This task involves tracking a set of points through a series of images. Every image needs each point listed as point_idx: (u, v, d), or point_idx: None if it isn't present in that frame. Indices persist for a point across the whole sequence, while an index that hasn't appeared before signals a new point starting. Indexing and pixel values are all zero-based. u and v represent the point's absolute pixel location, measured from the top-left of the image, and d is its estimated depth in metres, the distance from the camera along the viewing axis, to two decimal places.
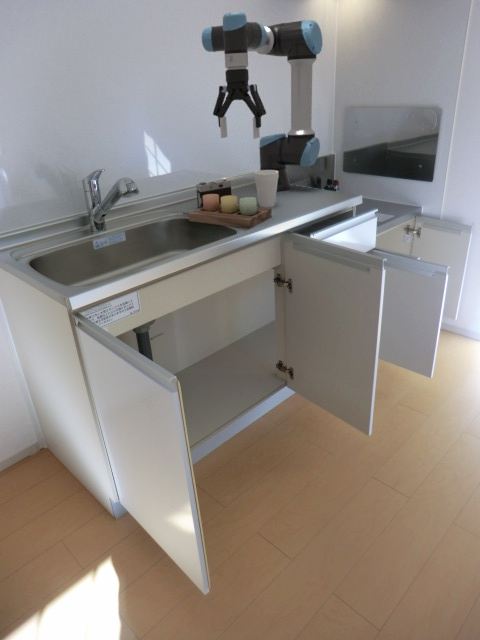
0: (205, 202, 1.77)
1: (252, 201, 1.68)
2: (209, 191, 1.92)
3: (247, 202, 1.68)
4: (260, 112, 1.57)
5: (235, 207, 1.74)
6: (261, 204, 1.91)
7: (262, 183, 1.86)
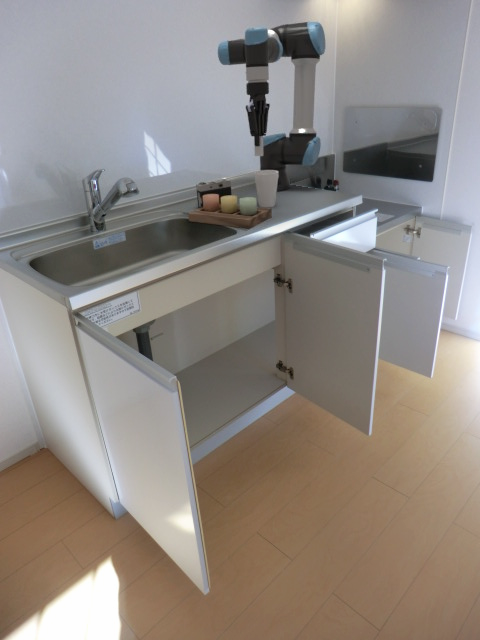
0: (205, 202, 1.77)
1: (252, 201, 1.68)
2: (209, 191, 1.92)
3: (247, 202, 1.68)
4: None
5: (235, 207, 1.74)
6: (261, 204, 1.91)
7: (262, 183, 1.86)
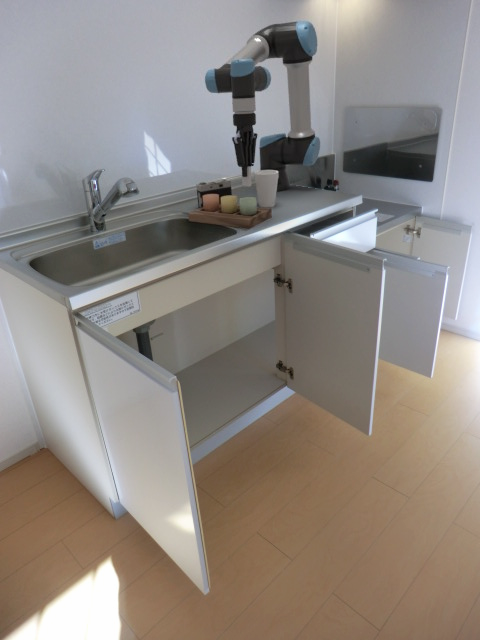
0: (205, 202, 1.77)
1: (252, 201, 1.68)
2: (209, 191, 1.92)
3: (247, 202, 1.68)
4: None
5: (235, 207, 1.74)
6: (261, 204, 1.91)
7: (262, 183, 1.86)
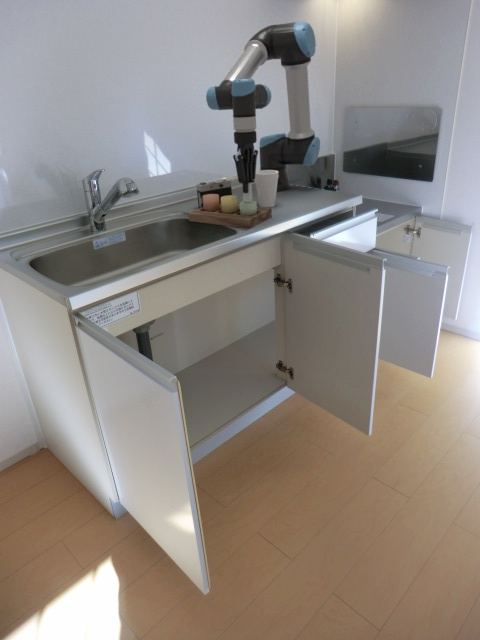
0: (205, 202, 1.77)
1: (252, 204, 1.69)
2: (210, 191, 1.92)
3: (247, 205, 1.69)
4: None
5: (235, 207, 1.74)
6: (261, 204, 1.91)
7: (262, 183, 1.86)
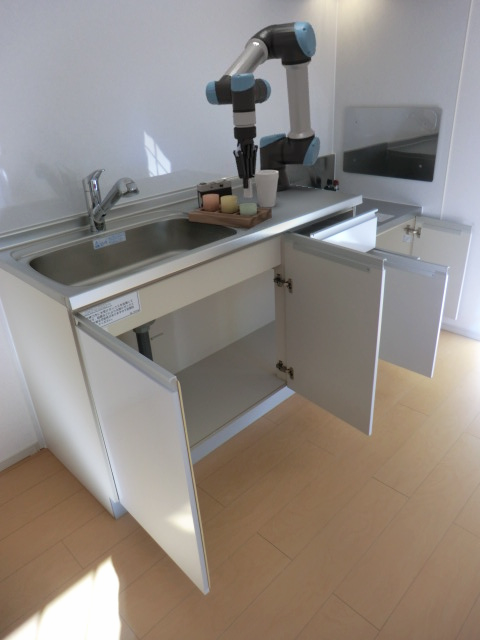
0: (205, 202, 1.77)
1: (252, 207, 1.69)
2: (210, 191, 1.92)
3: (247, 208, 1.69)
4: None
5: (235, 207, 1.74)
6: (261, 204, 1.91)
7: (262, 183, 1.86)
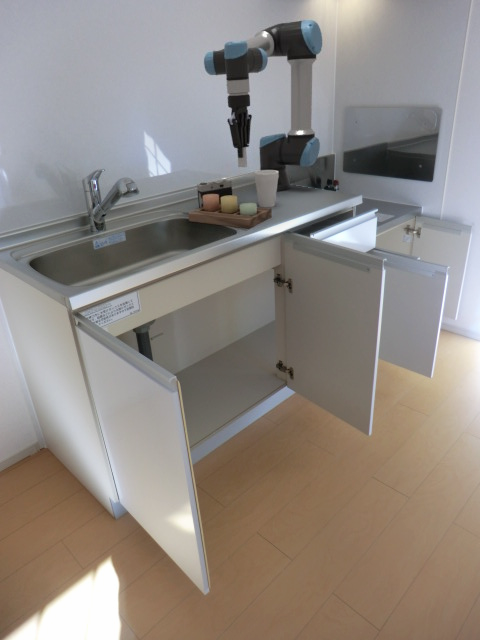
0: (205, 202, 1.77)
1: (252, 207, 1.69)
2: (210, 191, 1.92)
3: (247, 208, 1.69)
4: None
5: (235, 207, 1.74)
6: (261, 204, 1.91)
7: (262, 183, 1.86)
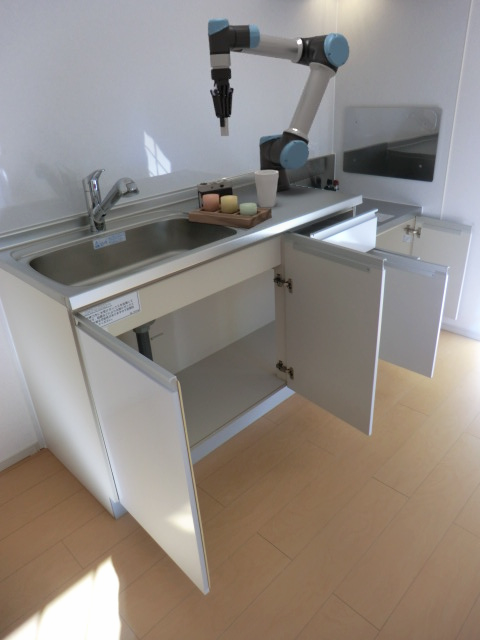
0: (205, 202, 1.77)
1: (252, 207, 1.69)
2: (210, 191, 1.91)
3: (247, 208, 1.69)
4: None
5: (235, 207, 1.74)
6: (261, 204, 1.91)
7: (262, 183, 1.86)
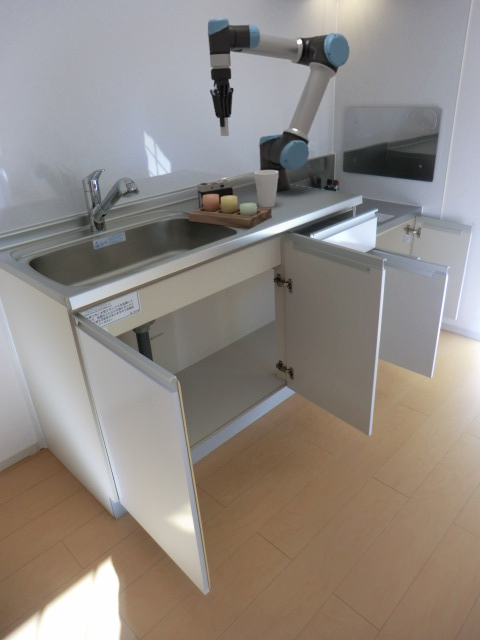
0: (205, 202, 1.77)
1: (252, 207, 1.69)
2: (210, 192, 1.91)
3: (247, 208, 1.69)
4: None
5: (235, 207, 1.74)
6: (261, 204, 1.91)
7: (262, 183, 1.86)
